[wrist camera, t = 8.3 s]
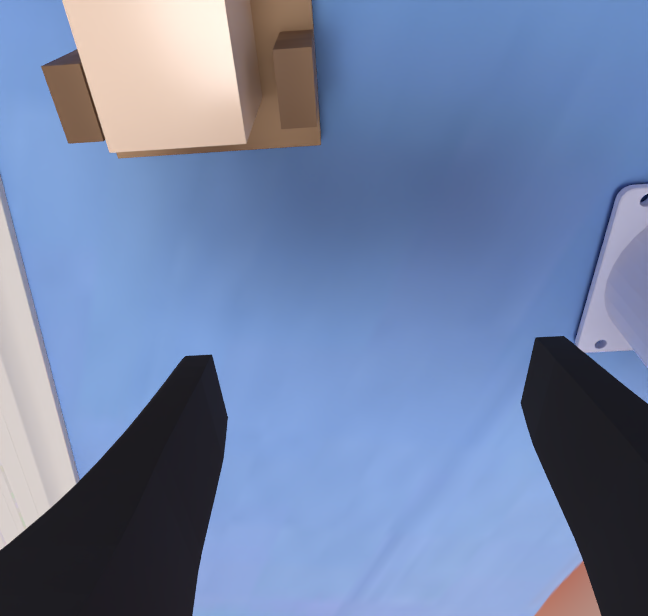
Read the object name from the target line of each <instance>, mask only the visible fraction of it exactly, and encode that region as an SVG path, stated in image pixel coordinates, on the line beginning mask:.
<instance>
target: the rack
mask: <svg viewBox="0 0 648 616" xmlns="http://www.w3.org/2000/svg"><path fill="white" fill-rule="evenodd" d="M250 5H251V13H252V20H253V28H254V36H255V44H256V52H257V59H258V67H259V75H260V83H261V91H262V101H261V104H260V106H259V109H258V112H257V115H256V118H255V121H254V123H253V126H252V129H251V132H250V135H249V138H248V140H247V143H246V144H236V145H221V146H206V147H191V148H176V149H161V150H146V151H131V152H116V153H117V156H118V158H131V157H146V156H162V155H177V154H192V153H207V152H222V151H238V150H253V149H268V148H283V147H298V146H314V145H321V131H320V116H319V101H318V86H317V71H316V57H315V42H314V27H313V12H312V0H250ZM41 67H42V70H43V73H44V76H45V79H46V82H47V84H48V87H49V90H50V93H51V96H52V98H53V101H54V104H55V107H56V110H57V113H58V115H59V118H60V121H61V124H62V127H63V130H64V132H65V135H66V138H67V141H68V144H69V143H84V142H99V141H104V140H105V136H104V133H103V130H102V127H101V123H100V120H99V117H98V114H97V110H96V107H95V104H94V101H93V98H92V94H91V91H90V88H89V85H88V82H87V78H86V75H85V72H84V69H83V66H82V62H81V59H80V56H79V53H78V49H77V50H75V51H73V52H71V53H69V54H66V55H64V56H62V57H60V58H58V59H56V60H54V61H52V62H49V63H47V64H45V65H43V66H41Z"/></svg>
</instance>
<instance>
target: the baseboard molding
mask: <svg viewBox="0 0 648 616" xmlns="http://www.w3.org/2000/svg"><path fill="white" fill-rule="evenodd" d="M78 482H79V477H78V473H77V469H76V465H75V461H74V458H73V454H72V450H71V446H70V442H69V438H68V434H67V430H66V427H65V423H64V419H63V415H62V411H61V407H60V403H59V400H58V396H57V392H56V388H55V384H54V380H53V376H52V373H51V369H50V365H49V361H48V357H47V353H46V349H45V346H44V342H43V338H42V334H41V330H40V326H39V322H38V318H37V315H36V311H35V307H34V303H33V299H32V295H31V291H30V288H29V284H28V280H27V276H26V272H25V268H24V264H23V261H22V257H21V253H20V249H19V245H18V241H17V237H16V234H15V230H14V226H13V222H12V218H11V214H10V210H9V206H8V203H7V199H6V195H5V191H4V187H3V183H2V179H1V176H0V550H1V549H2V548H4V547H5V546H6V545H7V544H9V543H10V542H11V541H12V540H13V539H15V538H16V537H17V536H18V535H19V534H21V533H22V532H23V531H24V530H25V529H26V528H28V527H29V526H30V525H31V524H32V523H34V522H35V521H36V520H37V519H38V518H39V517H41V516H42V515H43V514H44V513H45V512H47V511H48V510H49V509H50V508H51V507H52V506H53V505H54V504H56V503H57V502H58V501H59V500H60V499H61V498H62V497H63V496H64V495H65V494H66V493H67V492H68V491H69V490H70V489H71V488H72V487H74V486H75V485H76V484H77V483H78Z"/></svg>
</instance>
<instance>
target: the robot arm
mask: <svg viewBox="0 0 648 616" xmlns="http://www.w3.org/2000/svg"><path fill="white" fill-rule="evenodd" d="M646 194H648V184H637V185H630V186H627V187H625V188H623V189H622V190H621V191H620V192H619V193H618V195H617V197H616V199H615V203H614V206H613V210H612V213H611V217H610V220H609V224H608V227H607V231H606V234H605V238H604V241H603V245H602V248H601V252H600V255H599V259H598V262H597V266H596V269H595V273H594V276H593V280H592V283H591V287H590V290H589V294H588V297H587V301H586V304H585V308H584V311H583V315H582V318H581V322H580V326H579V329H578V333H577V336H576V340H575V344H576V345H574V344H573V343H572V342H571V341H569V340H568V339H567V338H565V337H564V336H555V337H537V338H535V342H534V346H533V351H532V355H531V360H530V364H529V369H528V373H527V378H526V382H525V386H524V391H523V395H522V400H521V406H522V409H523V413H524V416H525V420H526V424H527V427H528V430H529V433H530V437H531V440H532V443H533V446H534V448H535V450H536V453H537V455H538V457H539V460H540V462H541V464H542V467H543V469H544V471H545V473H546V476H547V478H548V480H549V482H550V485H551V487H552V489H553V491H554V493H555V496H556V498H557V500H558V502H559V505H560V507H561V509H562V511H563V514H564V516H565V518H566V520H567V522H568V525H569V527H570V529H571V531H572V534H573V536H574V538H575V541H576V543H577V546H578V548H579V551H580V553H581V556H582V558H583V561H584V564H585V567H586V570H587V573H588V576H589V579H590V582H591V585H592V588H593V591H594V594H595V597H596V600H597V603H598V606H599V609H600V612H601V616H648V404H647V403H646V402H645V401H643V400H642V399H641V398H640V397H638V396H637V395H636V394H634V393H633V392H632V391H631V390H629V389H628V388H627V387H626V386H624V385H623V384H622V383H621V382H619V381H618V380H617V379H616V378H614V377H613V376H612V375H611V374H610V373H608V372H607V371H606V370H605V369H603V368H602V367H601V366H600V365H599V364H597V363H596V362H595V361H594V360H593V359H591V358H590V357H589V356H588V355H587V354H585V353H590V352H609V351H628V350H634V351H635V353H636V354H637V355H638V356H639V358H640V359H641V360H642V362H643V363H644V364H645V366H646V367H647V368H648V198H647V199H646V200H645V201H643V202H640V200H641V198H642V197H643V196H644V195H646ZM599 340H602V341H600V342H599V343H596V342H598V341H599ZM584 352H585V353H584ZM227 420H228V416H227V412H226V408H225V404H224V401H223V397H222V393H221V389H220V385H219V381H218V377H217V373H216V369H215V365H214V361H213V357H212V355H197V356H185V357H184V358H183V359H182V360H181V361H180V363H179V364H178V365H177V367H176V368H175V369H174V371H173V372H172V373H171V375H170V376H169V377H168V379H167V380H166V381H165V382H164V384H163V385H162V386H161V388H160V389H159V390H158V392H157V393H156V394H155V395H154V397H153V398H152V399H151V401H150V402H149V403H148V404H147V406H146V407H145V408H144V409H143V410H142V412H141V413H140V414H139V415H138V417H137V418H136V419H135V420H134V421H133V423H132V424H131V425H130V426H129V427H128V429H127V430H126V431H125V432H124V433H123V434H122V436H121V437H120V438H119V439H118V440H117V441H116V442H115V443H114V444H113V446H112V447H111V448H110V449H109V450H108V451H107V452H106V453H105V455H104V456H103V457H102V458H101V459H100V460H99V461H98V462H97V463H96V464H95V465H94V466H93V467H92V468H91V469H90V471H89V472H88V473H87V474H86V475H85V476H84V477H83V478H82V479H81V480H80V481H79V482H78V483H77V484H76V485H75V486H74V487H72V488H71V489H70V490H69V491H68V492H67V493H66V494H65V495H64V496H63V497H62V498H61V499H60V500H59V501H58V502H57V503H56V504H54V505H53V506H52V507H51V508H50V509H49V510H48V511H47V512H45V513H44V514H43V515H42V516H41V517H39V518H38V519H37V520H36V521H35V522H34V523H32V524H31V525H30V526H29V527H28V528H26V529H25V530H24V531H23V532H22V533H21V534H19V535H18V536H17V537H16V538H15V539H13V540H12V541H11V542H10V543H9V544H7V545H6V546H5V547H4V548H2V549H1V550H0V616H192V614H193V606H194V599H195V591H196V584H197V576H198V570H199V565H200V560H201V554H202V550H203V545H204V541H205V537H206V533H207V528H208V524H209V520H210V515H211V511H212V507H213V503H214V498H215V494H216V490H217V485H218V481H219V476H220V472H221V468H222V463H223V458H224V450H225V441H226V430H227Z"/></svg>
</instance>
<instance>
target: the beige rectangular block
mask: <svg viewBox="0 0 648 616" xmlns="http://www.w3.org/2000/svg"><path fill="white" fill-rule="evenodd" d="M62 1H63V4H64V8H65V11H66V14H67V17H68V21H69V24H70V27H71V30H72V33H73V37H74V40H75V43H76V46H77V49H78V53H79V56H80V59H81V62H82V66H83V69H84V72H85V75H86V78H87V82H88V85H89V88H90V91H91V94H92V98H93V101H94V104H95V107H96V110H97V114H98V117H99V120H100V123H101V127H102V130H103V133H104V136H105V139H106V143H107V146H108V149H109V152H110V153H116V152H131V151H146V150H161V149H176V148H191V147H206V146H221V145H236V144H246V143H247V140H248V138H249V135H250V132H251V129H252V126H253V123H254V121H255V118H256V115H257V112H258V109H259V106H260V104H261V101H262V91H261V83H260V75H259V67H258V59H257V52H256V44H255V36H254V28H253V20H252V13H251V5H250V0H62Z"/></svg>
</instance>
